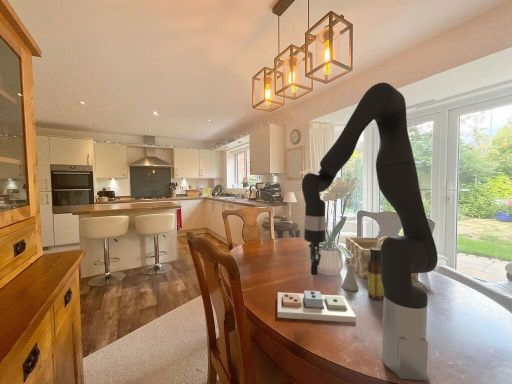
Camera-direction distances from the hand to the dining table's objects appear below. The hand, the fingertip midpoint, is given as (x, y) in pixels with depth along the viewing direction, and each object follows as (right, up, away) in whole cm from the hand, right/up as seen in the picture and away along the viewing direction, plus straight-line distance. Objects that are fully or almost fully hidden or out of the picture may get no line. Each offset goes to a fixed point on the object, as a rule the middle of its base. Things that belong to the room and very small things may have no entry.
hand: (314, 274), depth 83 cm
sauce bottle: (+28, -13, +9) cm, 32 cm away
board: (0, -13, 0) cm, 13 cm away
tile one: (+8, -13, -1) cm, 15 cm away
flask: (+21, -13, +17) cm, 30 cm away
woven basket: (+45, -12, +40) cm, 61 cm away
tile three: (-8, -12, +1) cm, 15 cm away
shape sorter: (+46, -12, +38) cm, 61 cm away
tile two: (0, -11, 0) cm, 11 cm away
